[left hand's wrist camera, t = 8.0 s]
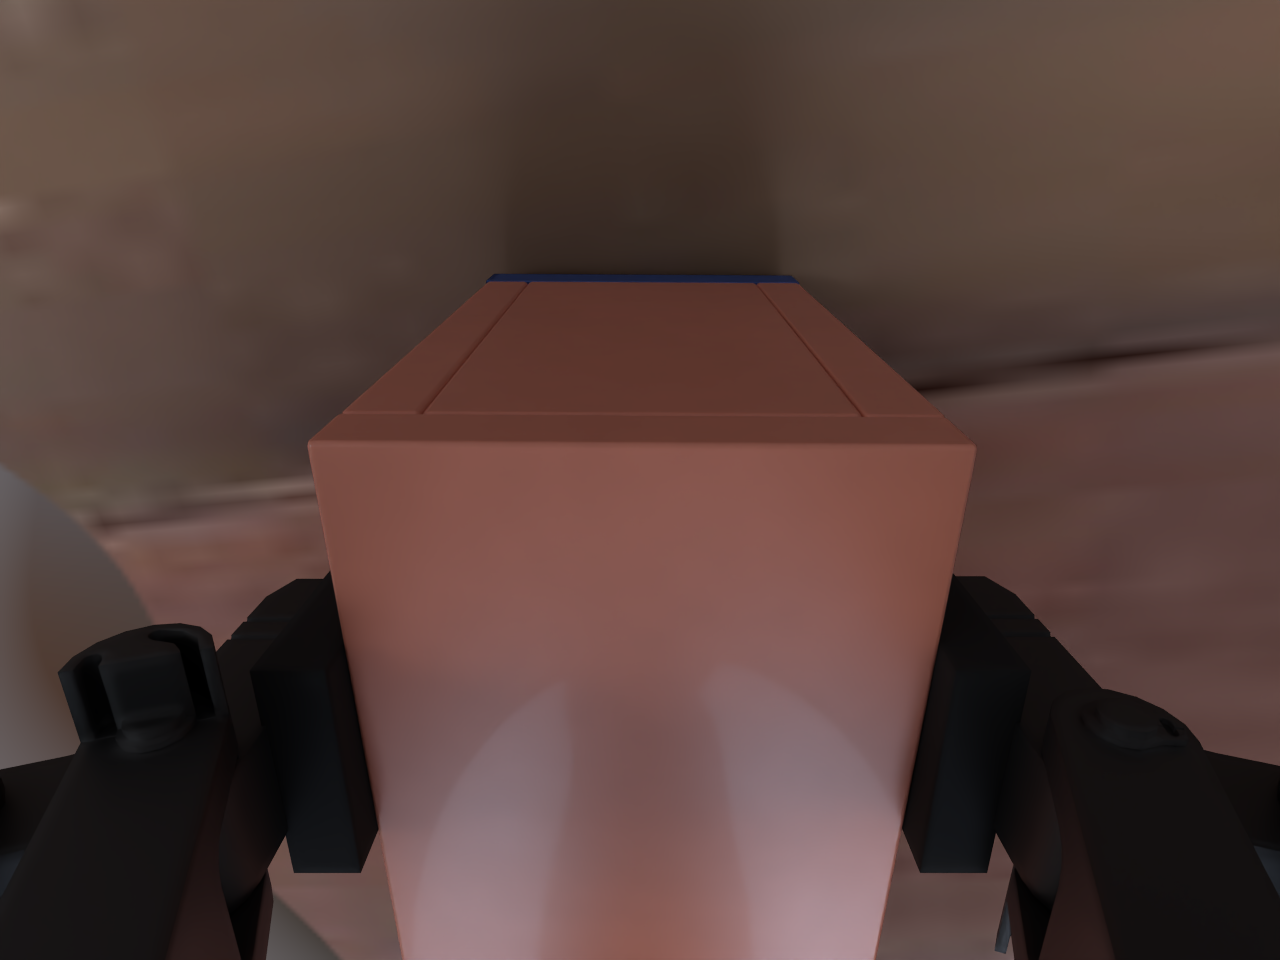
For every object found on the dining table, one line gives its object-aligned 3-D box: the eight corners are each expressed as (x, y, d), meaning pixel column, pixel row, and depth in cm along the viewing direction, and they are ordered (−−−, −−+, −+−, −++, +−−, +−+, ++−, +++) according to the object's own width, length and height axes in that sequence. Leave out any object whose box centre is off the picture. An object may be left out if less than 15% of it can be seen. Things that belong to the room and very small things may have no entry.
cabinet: (744, 833, 23) (812, 1289, 14) (533, 831, 23) (461, 1287, 14) (791, 275, 16) (981, 444, 7) (494, 273, 16) (302, 440, 7)
